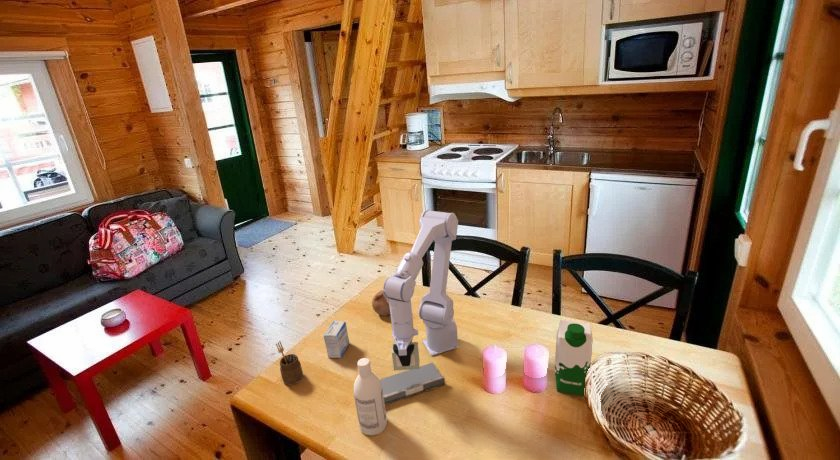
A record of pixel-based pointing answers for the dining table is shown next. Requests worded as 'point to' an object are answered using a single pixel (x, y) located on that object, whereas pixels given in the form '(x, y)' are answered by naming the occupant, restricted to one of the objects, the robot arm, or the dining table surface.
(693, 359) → the dining table surface
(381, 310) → the onion
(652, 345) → the dining table surface
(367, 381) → the bath foam
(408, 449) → the dining table surface
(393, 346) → the robot arm
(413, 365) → the carton
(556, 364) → the milk carton
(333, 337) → the medicine box
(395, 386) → the shelf board
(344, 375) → the dining table surface
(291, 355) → the utensil holder
